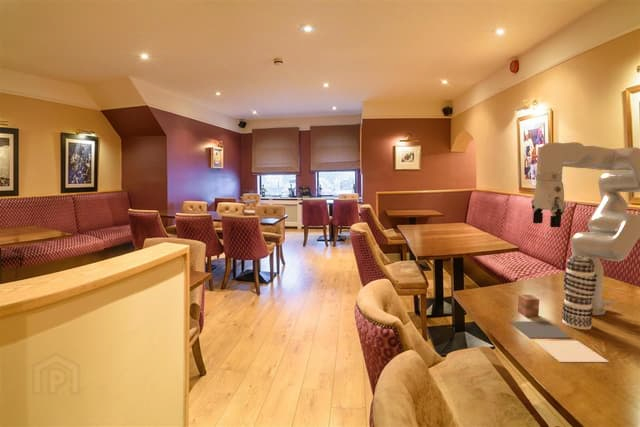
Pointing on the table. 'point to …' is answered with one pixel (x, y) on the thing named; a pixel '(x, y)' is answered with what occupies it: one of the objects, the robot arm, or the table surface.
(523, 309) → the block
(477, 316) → the table surface
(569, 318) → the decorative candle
